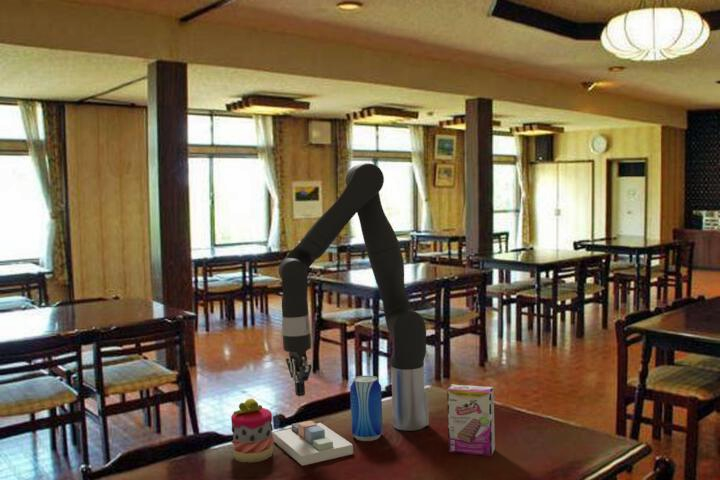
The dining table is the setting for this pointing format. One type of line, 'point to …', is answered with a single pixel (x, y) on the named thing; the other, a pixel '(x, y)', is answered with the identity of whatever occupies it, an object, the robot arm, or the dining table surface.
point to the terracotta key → (302, 428)
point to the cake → (252, 432)
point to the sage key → (322, 444)
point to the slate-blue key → (314, 434)
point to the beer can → (366, 408)
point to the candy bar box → (471, 419)
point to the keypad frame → (311, 446)
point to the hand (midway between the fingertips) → (300, 395)
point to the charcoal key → (295, 428)
